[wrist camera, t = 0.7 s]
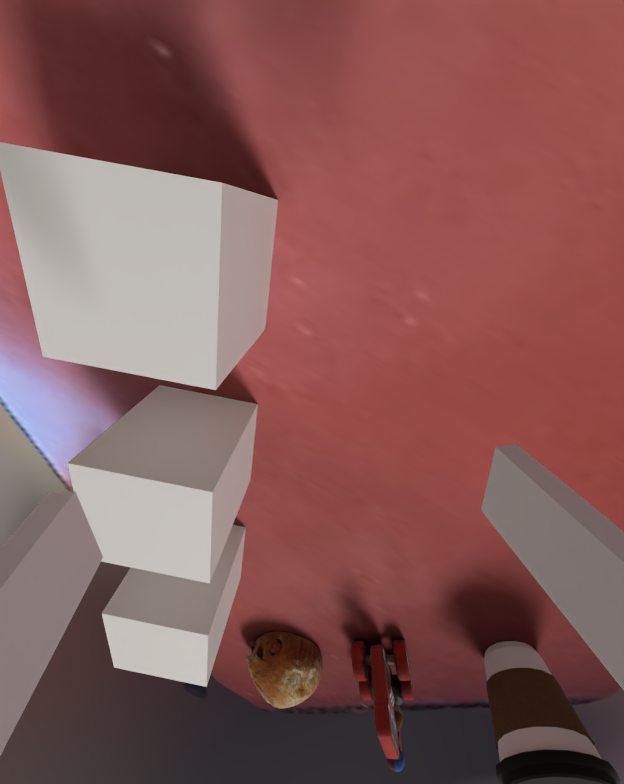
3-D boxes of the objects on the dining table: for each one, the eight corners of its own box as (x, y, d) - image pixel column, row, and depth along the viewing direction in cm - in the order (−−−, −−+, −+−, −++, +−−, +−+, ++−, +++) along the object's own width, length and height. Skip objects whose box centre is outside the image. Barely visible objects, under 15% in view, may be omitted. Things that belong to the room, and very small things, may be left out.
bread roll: (284, 642, 54) (294, 709, 48) (230, 647, 48) (233, 724, 42) (327, 621, 50) (342, 690, 44) (274, 622, 44) (283, 704, 38)
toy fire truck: (364, 676, 49) (367, 781, 40) (348, 627, 44) (348, 735, 35) (412, 677, 48) (427, 785, 39) (402, 626, 43) (417, 738, 33)
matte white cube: (147, 176, 23) (-7, 141, 13) (278, 200, 22) (222, 182, 13) (155, 307, 27) (43, 356, 17) (265, 328, 27) (215, 390, 17)
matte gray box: (166, 511, 37) (101, 613, 28) (245, 527, 37) (208, 635, 27) (169, 562, 42) (114, 667, 32) (240, 577, 41) (206, 686, 32)
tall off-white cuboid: (159, 384, 30) (67, 463, 20) (257, 404, 30) (212, 492, 20) (164, 462, 34) (89, 558, 24) (250, 479, 34) (209, 583, 24)
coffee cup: (544, 680, 45) (605, 823, 34) (459, 672, 46) (491, 808, 35) (568, 633, 40) (647, 783, 29) (471, 626, 41) (513, 767, 30)
